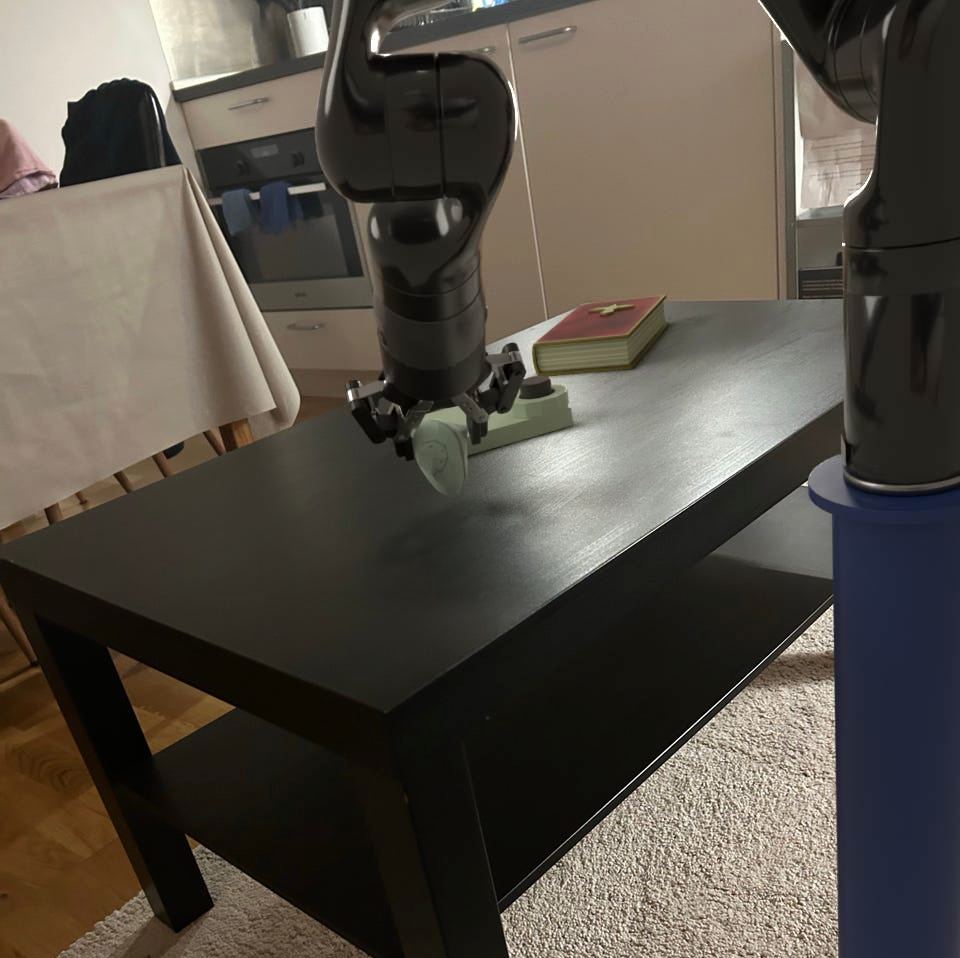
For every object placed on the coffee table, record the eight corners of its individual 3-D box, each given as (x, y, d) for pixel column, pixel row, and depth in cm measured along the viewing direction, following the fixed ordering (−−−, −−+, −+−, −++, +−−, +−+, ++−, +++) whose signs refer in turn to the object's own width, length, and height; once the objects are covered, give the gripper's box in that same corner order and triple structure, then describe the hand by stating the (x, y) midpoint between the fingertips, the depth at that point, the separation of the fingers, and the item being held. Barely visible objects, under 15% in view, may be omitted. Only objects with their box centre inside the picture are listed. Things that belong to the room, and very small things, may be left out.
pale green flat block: (532, 402, 113) (527, 371, 112) (581, 425, 102) (576, 391, 101) (410, 436, 110) (403, 404, 108) (447, 463, 99) (440, 429, 97)
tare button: (545, 390, 105) (542, 373, 104) (557, 395, 102) (555, 378, 101) (516, 398, 104) (514, 381, 103) (528, 403, 101) (526, 386, 100)
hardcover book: (535, 376, 123) (529, 341, 121) (582, 333, 140) (578, 301, 138) (631, 368, 118) (628, 332, 116) (668, 324, 135) (666, 292, 133)
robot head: (456, 510, 81) (433, 430, 79) (412, 517, 83) (387, 438, 81) (490, 476, 88) (469, 400, 85) (449, 483, 90) (427, 409, 87)
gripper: (517, 252, 71) (510, 386, 87) (316, 298, 70) (347, 425, 86) (547, 341, 69) (534, 461, 85) (340, 389, 68) (367, 502, 84)
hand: (440, 442), depth 85 cm, fingers closed on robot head, 5 cm apart
